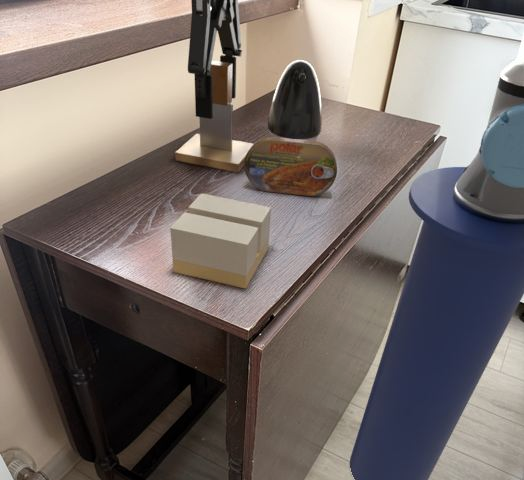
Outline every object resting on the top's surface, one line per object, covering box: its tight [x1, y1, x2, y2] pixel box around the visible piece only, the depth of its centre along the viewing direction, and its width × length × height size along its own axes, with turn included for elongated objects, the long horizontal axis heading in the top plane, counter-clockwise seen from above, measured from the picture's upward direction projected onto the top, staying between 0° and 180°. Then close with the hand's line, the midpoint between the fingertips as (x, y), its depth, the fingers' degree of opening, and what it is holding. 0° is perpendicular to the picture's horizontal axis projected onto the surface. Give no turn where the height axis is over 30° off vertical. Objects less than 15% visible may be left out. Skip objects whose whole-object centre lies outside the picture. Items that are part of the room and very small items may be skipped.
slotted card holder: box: [169, 193, 272, 290], centre depth 67 cm, size 10×10×6 cm
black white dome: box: [267, 59, 323, 141], centre depth 94 cm, size 10×10×15 cm
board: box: [174, 133, 254, 173], centre depth 93 cm, size 12×10×2 cm
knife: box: [198, 59, 234, 151], centre depth 88 cm, size 6×2×14 cm, turn 73°
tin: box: [243, 136, 338, 197], centre depth 83 cm, size 15×3×8 cm, turn 82°
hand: (216, 106), depth 88 cm, fingers open, 11 cm apart
